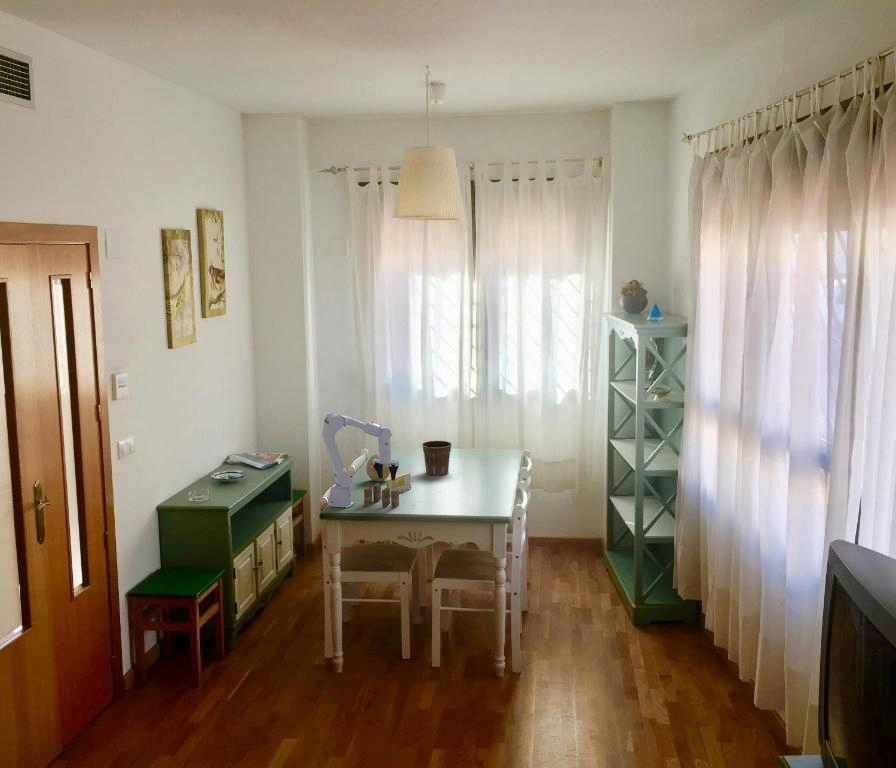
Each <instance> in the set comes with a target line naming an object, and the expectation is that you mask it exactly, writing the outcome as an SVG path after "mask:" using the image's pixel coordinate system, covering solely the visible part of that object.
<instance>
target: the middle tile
mask: <svg viewBox="0 0 896 768" xmlns="http://www.w3.org/2000/svg"><path fill="white" fill-rule="evenodd" d="M381 502H382V504H381V505H382V508H388V507H389V506H390V505H391V495H390V488H387V487H384V488H383V489H381ZM389 504H390V505H389ZM388 505H389V506H388ZM387 506H388V507H387Z"/></svg>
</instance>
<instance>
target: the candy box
mask: <svg viewBox="0 0 896 768" xmlns="http://www.w3.org/2000/svg"><path fill="white" fill-rule="evenodd" d="M411 481H412V479H411V472H406V473H403V474H400V475H396V477H395V480H391V477H389V478H386V479H385V485H386V487H385V488H390V496H391V491H392V490H393V489H394V488H396V489H399V492H400V493H402V492H401V491H403V492H405V491H404V490H406V491H408V490H407V489H409V488H411V489H412V483H411ZM409 490H410V489H409Z"/></svg>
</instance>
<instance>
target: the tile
mask: <svg viewBox="0 0 896 768" xmlns="http://www.w3.org/2000/svg"><path fill="white" fill-rule="evenodd" d="M381 485H382V483H380V482H376V483H375V484H373V485H372V502H373V503H378V502H380V501H381V500H382V486H381ZM380 499H381V500H380ZM379 500H380V501H379Z"/></svg>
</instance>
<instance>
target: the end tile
mask: <svg viewBox="0 0 896 768" xmlns="http://www.w3.org/2000/svg"><path fill="white" fill-rule="evenodd" d="M363 499H364V501H363V503H364V505H366V506H365V507H369V506H371V505H372V504H373V486H367V487H365V488H364V489H363ZM371 503H372V504H371ZM370 504H371V505H370ZM368 505H369V506H368Z"/></svg>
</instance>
